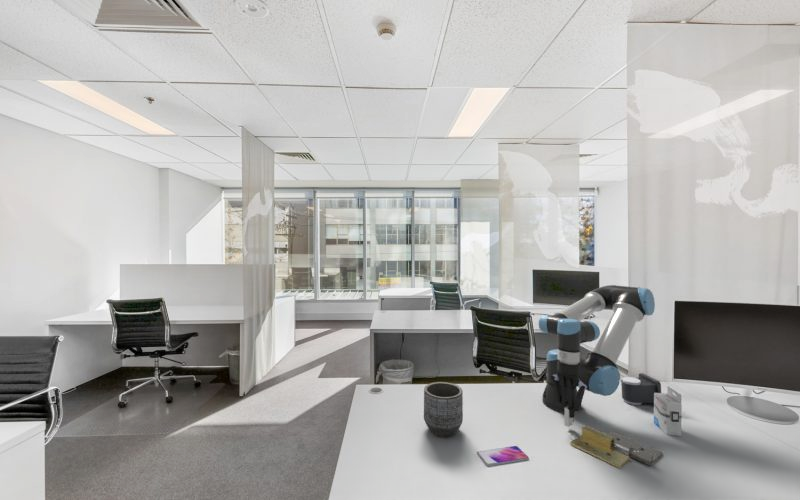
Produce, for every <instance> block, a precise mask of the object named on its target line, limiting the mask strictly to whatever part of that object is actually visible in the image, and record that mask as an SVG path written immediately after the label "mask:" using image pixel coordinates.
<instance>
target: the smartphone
mask: <svg viewBox="0 0 800 500" xmlns="http://www.w3.org/2000/svg"><path fill="white" fill-rule="evenodd" d="M476 455H477V456H478V457H479V459H481V461H482V462H483V464H484V465H485V466H486V467H493V466H499V465H505V464H511V463H512V464H513V463H519V462H523V461H528V460H529V459H530V458H529V456H528V455H527V454H526V453H525V452H524V451H523V450H522V449H521V448H520V447H518V445H513V446H505V447H499V448H498V447H497V448H493V449H492V448H491V449H486V450H480V451H476Z"/></svg>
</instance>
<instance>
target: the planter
mask: <svg viewBox="0 0 800 500" xmlns="http://www.w3.org/2000/svg"><path fill="white" fill-rule="evenodd" d="M463 397H464V396H463V388H462V387H461V386H459V385H458V384H455V383H452V382H446V381H445V382H444V381H436V382H431V383H428V384H426V385H425V386H424V389H423V421H424V422H425V425H426V426H427V428H428V430H430V431H429V432H430V433H431V434H433V435H434V436H437V437H441V438H450V437H452V436H454V435H456V433H457V432H458V431H459V430H460V428H461V426H462V424H463V419H464V418H463V416H464V414H463V413H464V412H463V411H464V410H463V406H464V405H463V404H464V401H463V399H464V398H463Z"/></svg>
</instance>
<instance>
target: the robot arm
mask: <svg viewBox="0 0 800 500" xmlns="http://www.w3.org/2000/svg"><path fill="white" fill-rule="evenodd" d="M655 305H656V304H655V298H654V294H653V292H652V291H651V289H649V288H645V287H640V286H638V287H636V286H635V287H634V286H625V285H615V284H613V285H612V284H611V285H605V286H600V287H597V288H595V289H593V290H590V291H589V292H587V293H586V294H584V296H583V297H582V298H581V299H580V300H577V301H575V302H574V303H572V304H571V305H569V306H567V307H565V308H563V309H561V310H559V311H558V312H556V313H554V314H553V315H549V314H548V315H546V314H543V315H541V316H540V318H539V319H538V328H539V330H540V331H541V332H543V333H545V334H549V335H552V336H557V349H551V350H549V351H547V353H546V359H545V361H546V385H545V387H544V391H543V392H542V396H541V397H542V403H543V405H545V406H546V407H548V408H550V409H552V410H555V411H559V412H562V416H563V415H564V426H565V427H571V426H573V418H575V416H576V415H575V414H576V413H577V412H580V411H581V410H582V402H583V399H584V395H585V391H588V392H590V393H593V394H596V395H600V396H602V397H603V396H605V397H606V396H607V397H608V396H611V395H613V394H614V393H615V392H616V391H617V390H618V388H619V385H620V383H621V372H620V371H619V366H618V365H617V361H618V359H619V358H620V355H621V354H622V352H623V349H624V347H625V345H626V343H627V342H628V339H629V338H630V335H631V334H632V332H633V330H634V327H635V325H636V323H637V322H641V321H642V320H643V319H644V318H645V316H647V317H649V316H652V315H653V314H654V312H655V308H656V306H655ZM604 310H609V311H613V313H612V315H611V317H610V319H609V321H608V323H607V325H606V327H605V328H604V330H603V332H602V334H601V329H600V327H599V326H598V325H597V324H596V323H595V322H593V321H589V320H588V321H587V320H585V321H583V320H584V319H586V318H587V317H589V316H591V315H593V314H594V313H596V312H597V313H598V312H601V311H604ZM600 334H601V335H600ZM597 339H599V340H598V341H597V343H596V345H595V347H594V349H593V350H592V351H587V352H586V354H585V356H584V357H581V344H585V343H591V342H593V341H596V340H597Z"/></svg>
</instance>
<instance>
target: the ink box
mask: <svg viewBox="0 0 800 500" xmlns="http://www.w3.org/2000/svg"><path fill="white" fill-rule="evenodd" d="M666 388H667V390H666V391H667V392H666V393H662V392H661V393H654V405H653V423H654V424H655V425H656V426H657V427H658V428H659V429H660V430H661V431H662V432H663V433H665V434H666V435H668V436H682V416H683V415H682V413H683V412H682V407H683V406H682V394H681V393H679V392H678V391H676V390H674V389H673V388H672V387H671V386H669V385H668V386H666ZM673 393H674V394H673Z"/></svg>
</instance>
